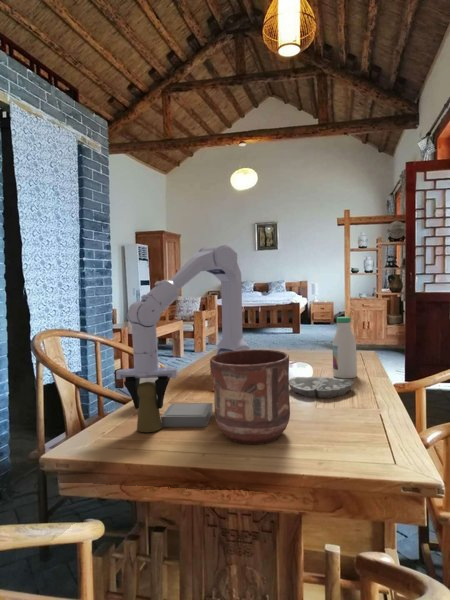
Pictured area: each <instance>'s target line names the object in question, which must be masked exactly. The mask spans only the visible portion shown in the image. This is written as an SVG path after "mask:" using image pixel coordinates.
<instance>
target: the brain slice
mask: <svg viewBox="0 0 450 600" xmlns="http://www.w3.org/2000/svg"><path fill="white" fill-rule="evenodd" d="M353 386H355V381H354V380H352V379H344V378H337V377H330V376H296V377H295V376H294V377H292V378H290V379H289V389H291V391H292V392H293V393H295V394H299V395H302V396H305V397H308V398H318V399H328V398H329V399H330V398H335V397H342V396H344V395H346V394H347V393H348V392H349V391H350V390H351V389H352V388H353Z"/></svg>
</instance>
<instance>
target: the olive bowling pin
mask: <svg viewBox="0 0 450 600" xmlns="http://www.w3.org/2000/svg"><path fill="white" fill-rule="evenodd" d="M137 394H138V396H139V408H138V409H137V410H138V412H137V422H136V423H137V425H136V431H138V432H140V433H154V432H157V431H160V430H161V429H162V428H163V427H162V423H161V413H160V409H158V406H157V390H156V385H155V382H143V383H140V384H139V385H138V387H137Z"/></svg>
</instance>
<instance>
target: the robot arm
mask: <svg viewBox="0 0 450 600" xmlns="http://www.w3.org/2000/svg"><path fill="white" fill-rule="evenodd" d="M202 272H208V273H209V274H212V275H213V276H214V277H216V278H217V280H219V281H220V282H221V283H220V285H221V330H222V331H221V336H222V337H221V338H222V339H220V341H219V342H218V344H217V348H216V349H217V351H216V354H215V355H218V354H221V353H225V352H230V351H238V350H251V349H250V345H248V343H247V342H246V341H245V340H244V338H243V300H242V299H243V298H242V297H243V295H242V293H243V291H242V272H241V269H240V267H239V263H238V253H237V252H236V251H235V250H234V248H232V247H231V246H229V245H227V244H221V245H216V246H215V245H214V246H204V247H202V248H200V249H199V250H198V251H196V252H194V253H193V254H192V256H191V258H189V259H188V261H186V263H185V264H184V265H183V266H182V267H181V268H180V269H179V270H178V271H176V273H175V274H174V275H173V276H172V277H171V278H170V279H162V280H157V281H156V282H155V283H154V287H152V289H151V290H149V292H147V293H146V294H142V296H140V300H139V301H134V302H132V304H130V306H129V307H128V310H127V313H126V318H127V321H128V322H129V324H131V336H132V337H131V338H132V352H133V368H125V369H117V370H116V371H115V375H116V378H115V379H116V380H122V379H124V381H123V385H124V387H125V388H126V389H127V391H128V393H129V395H130V397H131V400H132V402H133V406H134V409H135V410H138V409H139V396H138V394H137V387H138V385H139V384H140V378H158V379H157V380H156V381H155V385H156V390H157V406H158V409H159V410H160V409H162V408H163V407H164V399H165V394H166V390H167V387H168V385H169V382H170V380H171V378H172V379H177V378H178V376H179V375H178V368H177V367H176V368H173V367H161V366H160V367H159V365H160V364H159V365H158V363H159V362H158V361H159V351H158V350H159V349H158V335H157V323H159V321H160V319H161V314H163V312H164V311H165V310H167V309H168V307H169V306H171V305H172V304H173V303H174V302H175V301H176V300H177V299H178V298H179V295H180V294H179V293H180V289H182V288H183V287H184V286H185V285H187V284H188V283H189V282H190V281H191V280H193V279H194V278H195V277H197V275H199V274H200V273H202Z"/></svg>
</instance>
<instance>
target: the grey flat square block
mask: <svg viewBox="0 0 450 600" xmlns="http://www.w3.org/2000/svg"><path fill="white" fill-rule="evenodd" d="M213 405H214V404H213V402H208V403H207V402H200V403H199V402H196V403H192V402H191V403H189V402H186V403H171V404H170V405H169V406H168V407H167V409H166V410H165V412H163V414H162V415H160V418H161V423H162V428H194V427H195V428H202V427H203V428H206V427H208V424H209V421H210V419H211V417H212V416H213V414H214V409H213Z"/></svg>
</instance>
